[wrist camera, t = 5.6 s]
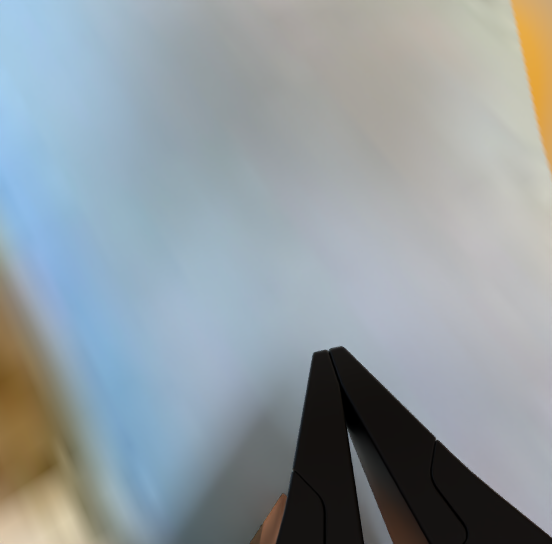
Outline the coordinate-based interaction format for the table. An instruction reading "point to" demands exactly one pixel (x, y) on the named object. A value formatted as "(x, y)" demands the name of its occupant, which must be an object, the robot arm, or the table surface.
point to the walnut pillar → (271, 524)
